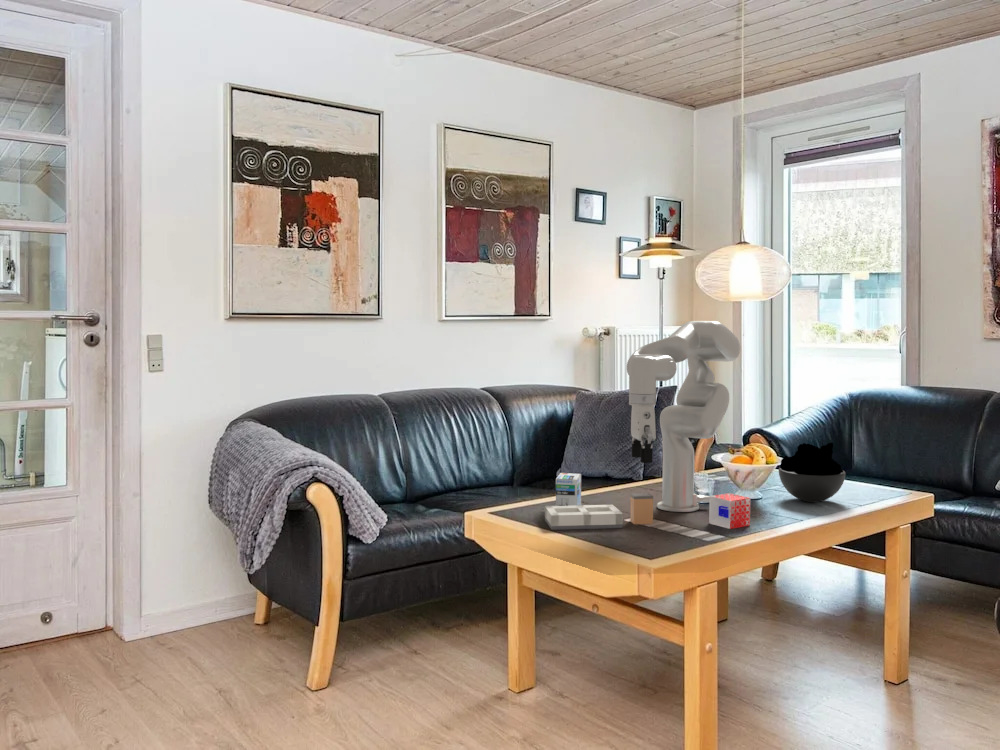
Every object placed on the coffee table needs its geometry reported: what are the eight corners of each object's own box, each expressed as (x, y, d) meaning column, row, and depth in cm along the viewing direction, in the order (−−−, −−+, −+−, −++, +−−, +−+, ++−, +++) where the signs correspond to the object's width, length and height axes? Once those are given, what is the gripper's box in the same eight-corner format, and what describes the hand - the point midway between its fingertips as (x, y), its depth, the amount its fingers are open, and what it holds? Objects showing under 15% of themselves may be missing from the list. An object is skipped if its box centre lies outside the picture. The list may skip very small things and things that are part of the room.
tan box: (649, 520, 251) (649, 493, 251) (652, 523, 247) (653, 495, 247) (630, 521, 251) (630, 493, 250) (633, 524, 247) (634, 496, 246)
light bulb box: (577, 515, 258) (577, 479, 257) (555, 514, 259) (555, 478, 259) (581, 507, 269) (581, 473, 268) (559, 506, 270) (559, 472, 269)
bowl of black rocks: (781, 506, 270) (782, 446, 268) (775, 494, 289) (776, 437, 288) (849, 509, 265) (851, 448, 264) (839, 496, 285) (840, 439, 283)
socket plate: (612, 518, 254) (612, 504, 254) (622, 527, 242) (622, 513, 242) (544, 519, 252) (544, 506, 252) (551, 529, 240) (551, 515, 240)
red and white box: (749, 525, 245) (750, 497, 245) (730, 529, 241) (730, 501, 240) (728, 520, 252) (728, 493, 251) (708, 523, 248) (709, 496, 247)
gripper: (664, 402, 238) (663, 464, 240) (647, 397, 256) (646, 455, 257) (637, 402, 238) (636, 465, 239) (622, 397, 255) (621, 455, 256)
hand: (641, 459), depth 248 cm, fingers open, 9 cm apart
